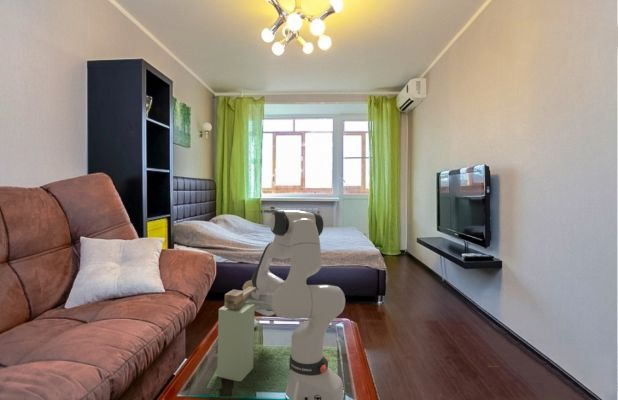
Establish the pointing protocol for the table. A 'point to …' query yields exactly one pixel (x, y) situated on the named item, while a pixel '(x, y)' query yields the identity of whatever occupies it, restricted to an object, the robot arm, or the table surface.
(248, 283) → the flower in vase
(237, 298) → the block
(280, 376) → the table surface
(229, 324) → the pedestal
